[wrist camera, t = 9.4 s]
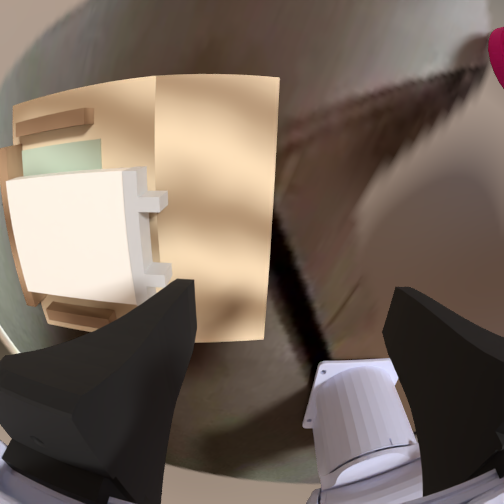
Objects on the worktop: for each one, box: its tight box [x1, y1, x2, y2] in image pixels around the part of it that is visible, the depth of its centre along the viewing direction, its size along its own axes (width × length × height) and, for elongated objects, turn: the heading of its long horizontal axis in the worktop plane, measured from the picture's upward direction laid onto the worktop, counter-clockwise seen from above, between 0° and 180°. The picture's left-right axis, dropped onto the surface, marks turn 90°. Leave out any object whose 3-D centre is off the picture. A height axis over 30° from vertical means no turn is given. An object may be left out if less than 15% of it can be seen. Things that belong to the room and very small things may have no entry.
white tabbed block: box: [6, 166, 172, 306], centre depth 17 cm, size 8×11×2 cm
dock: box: [0, 74, 280, 343], centre depth 18 cm, size 18×18×4 cm
